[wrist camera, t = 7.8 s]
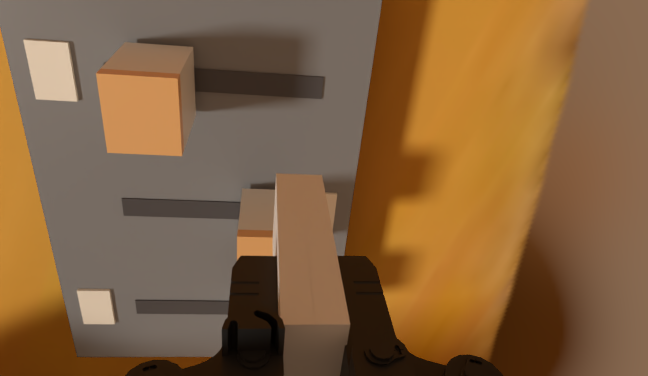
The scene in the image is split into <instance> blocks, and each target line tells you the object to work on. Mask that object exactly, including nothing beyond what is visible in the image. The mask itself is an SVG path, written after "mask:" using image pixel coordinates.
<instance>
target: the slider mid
mask: <svg viewBox="0 0 648 376" xmlns="http://www.w3.org/2000/svg"><path fill="white" fill-rule="evenodd" d="M274 204H275V190H270V189H244V188H242V195H241V205H240V214H239V223H238V233H237V260H238V259H239V257H240V256H273V223H274Z"/></svg>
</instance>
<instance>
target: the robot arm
mask: <svg viewBox="0 0 648 376" xmlns="http://www.w3.org/2000/svg"><path fill="white" fill-rule="evenodd" d="M125 376H503V375H502V374H501V372H500V371H499V370H498V369H496V368H495V366H494V365H493V364H491V363H490V362H488V361H486V360H484V359H483V358H481V357H477V356H473V355H458V356H456V357H454V358H452V359H451V360H450V361H449V362H448V364H447V365H446V366H445V365H442V364H438V363H434V362H430V361H427V360H424V359H421V358H418V357H416V356H414V355H413V354H411V353H409V352H408V350H407V349H406V347H405V345H404V344H403V343H402V342H401V341H399V340H398V339H397V337H396V335H395V332H394V329H393V325H392V322H391V318H390V315H389V311H388V308H387V304H386V301H385V297H384V295H383V290H382V287H381V284H380V280H379V276H378V273H377V269H376V267H375V266H374V265H373V264H372V263H371V262H370V261H369V259H368V258H367V257H366V256H337V252H336V246H335V241H334V236H333V230H332V225H331V220H330V215H329V209H328V204H327V199H326V194H325V188H324V183H323V178H322V175H306V174H279V173H276V185H275V204H274V223H273V256H240V257H239V259H238V260H237V262H236V263H235V264H234V266H233V267H232V274H231V285H230V296H229V307H228V317H227V318H226V319H225V321H224V324H223V327H222V347H221V349H220V351H219V352H218V353H217V354H216V355H215V356H213V357H212V358H210V359H209V360H207V361H205V362H203V363H200V364H198V365H195V366H191V367H188V368H184V369H181V368H180V367H179V366H178V365H177V364H175V363H172V362H170V361H167V360H152V361H148V362H145V363H141V364H139V365H138V366H136V367H135V368H133V369H131V370H130V371H129V372H128V373H127V374H126V375H125Z"/></svg>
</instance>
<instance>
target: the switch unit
mask: <svg viewBox="0 0 648 376" xmlns="http://www.w3.org/2000/svg"><path fill="white" fill-rule="evenodd" d="M381 5H382V0H0V28H1V32H2V36H3V41H4V45H5V49H6V54H7V58H8V62H9V66H10V71H11V75H12V79H13V84H14V88H15V92H16V96H17V101H18V105H19V109H20V114H21V118H22V122H23V126H24V131H25V135H26V139H27V144H28V148H29V152H30V156H31V161H32V165H33V169H34V174H35V178H36V182H37V186H38V191H39V195H40V199H41V204H42V208H43V212H44V216H45V221H46V225H47V229H48V234H49V238H50V242H51V246H52V251H53V255H54V259H55V263H56V268H57V272H58V276H59V281H60V285H61V289H62V293H63V298H64V302H65V306H66V311H67V315H68V319H69V323H70V328H71V332H72V336H73V341H74V345H75V349H76V353H77V357H213V356H215V355H216V354H217V353H218V352H219V351H220V349H221V347H222V327H223V324H224V321H225V319H226V318H227V317H228V307H229V296H230V285H231V274H232V267H233V266H234V264H235V263H236V262H237V233H238V223H239V214H240V205H241V195H242V188H244V189H270V190H275V185H276V173H279V174H306V175H322V178H323V183H324V188H325V194H326V199H327V204H328V209H329V215H330V220H331V225H332V230H333V236H334V241H335V246H336V252H337V256H344V253H345V246H346V239H347V233H348V226H349V219H350V213H351V206H352V199H353V192H354V186H355V179H356V172H357V166H358V159H359V152H360V146H361V139H362V132H363V126H364V119H365V112H366V105H367V99H368V92H369V85H370V79H371V72H372V65H373V59H374V52H375V45H376V39H377V32H378V25H379V18H380V12H381ZM125 42H131V43H145V44H159V45H173V46H187V47H193V53H194V79H195V104H196V117H195V119H194V122H193V125H192V128H191V131H190V134H189V137H188V140H187V143H186V146H185V149H184V152H183V155H182V156H166V155H144V154H122V153H107V147H106V140H105V133H104V126H103V119H102V112H101V105H100V98H99V91H98V84H97V77H96V73H97V72H98V71H99V70H100V68H101V67H102V66H103V65H104V64H105V63H106V62H107V61H108V60H109V59H110V58H111V57H112V56H113V55H114V53H115V52H116V51H117V50H118V49H119V48H120V47H121V46H122V45H123V44H124V43H125Z"/></svg>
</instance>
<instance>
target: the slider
mask: <svg viewBox="0 0 648 376" xmlns="http://www.w3.org/2000/svg"><path fill="white" fill-rule="evenodd" d="M96 77H97V84H98V91H99V98H100V105H101V112H102V119H103V126H104V133H105V140H106V147H107V153H122V154H144V155H166V156H182V155H183V152H184V149H185V146H186V143H187V140H188V137H189V134H190V131H191V128H192V125H193V122H194V119H195V117H196V104H195V79H194V53H193V47H187V46H173V45H159V44H145V43H131V42H125V43H124V44H123V45H122V46H121V47H120V48H119V49H118V50H117V51H116V52H115V53H114V55H113V56H112V57H111V58H110V59H109V60H108V61H107V62H106V63H105V64H104V65H103V66H102V67H101V68H100V70H99V71H98V72H97V73H96Z"/></svg>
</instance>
